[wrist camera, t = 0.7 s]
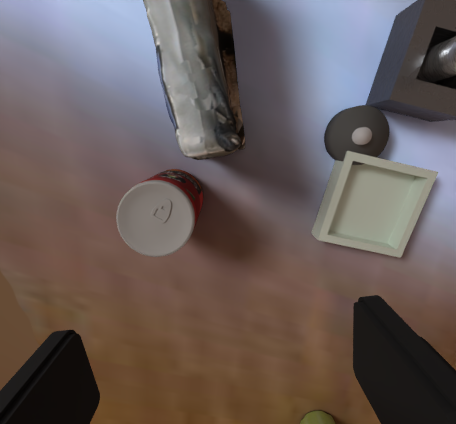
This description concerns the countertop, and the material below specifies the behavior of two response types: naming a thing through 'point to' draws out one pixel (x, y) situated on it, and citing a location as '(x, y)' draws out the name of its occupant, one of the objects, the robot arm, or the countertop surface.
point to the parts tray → (372, 204)
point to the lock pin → (439, 62)
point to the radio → (198, 74)
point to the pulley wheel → (357, 133)
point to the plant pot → (317, 418)
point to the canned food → (160, 213)
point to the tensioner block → (416, 63)
